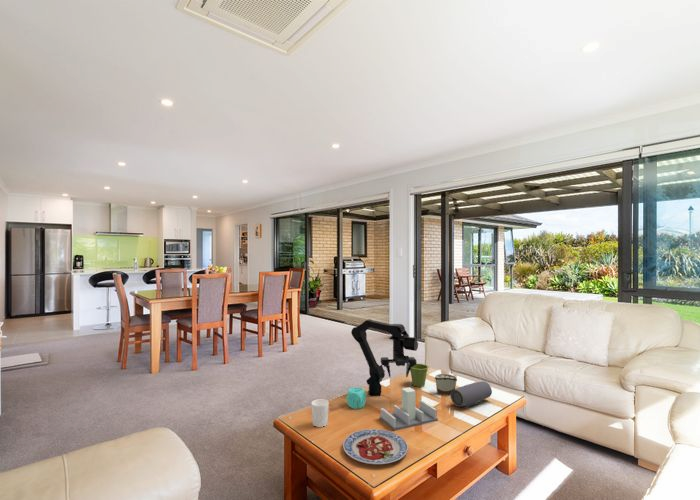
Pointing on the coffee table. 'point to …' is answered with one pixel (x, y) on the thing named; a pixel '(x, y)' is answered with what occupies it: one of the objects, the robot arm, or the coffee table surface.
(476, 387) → the bluetooth speaker
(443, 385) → the food container
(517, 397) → the coffee table surface
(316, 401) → the white cup
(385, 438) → the ceramic plate
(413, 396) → the cream white box
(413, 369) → the plant pot
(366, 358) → the robot arm
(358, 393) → the decorative dice
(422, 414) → the dish rack
